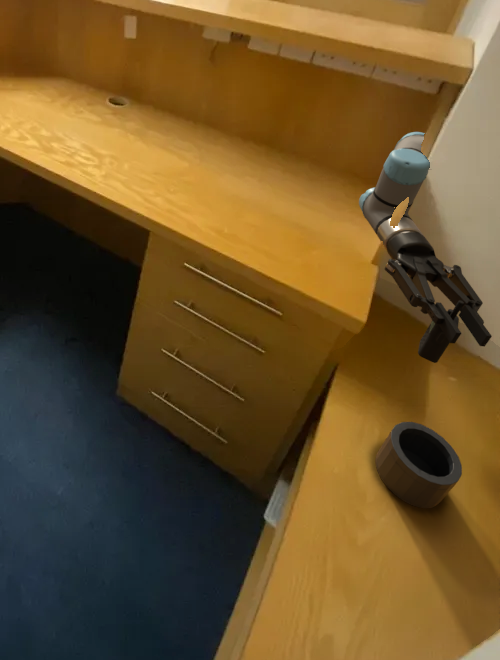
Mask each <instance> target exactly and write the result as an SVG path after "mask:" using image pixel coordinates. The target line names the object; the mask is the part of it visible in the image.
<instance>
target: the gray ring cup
mask: <svg viewBox="0 0 500 660" xmlns="http://www.w3.org/2000/svg"><path fill="white" fill-rule="evenodd" d="M375 467H376V471H377V474H378V476H379V477H380V479H381V481H382V482H383V484H384V485H385V487H387V489H389V491H390V492H392V494H393V495H395V496H396V497H397V498H399V499H400V500H401V501H403V502H405V503H407V504H408V505H410V506H413V507H416V508H420V509H432V508H434V507H436V506H438V505H439V504H440V503H442V501H443V500H444V498H446V497H447V495H448V494H449V493H450V492H451V491H452V489H454V487H455V486H456V484H457V483H458V482H459V481H460V479H461V477H462V475H463V467H462V462H461V459H460V457H459V456H458V453H457V452H456V451H455V449H454V448H453V447H452V445H451V444H450V443H449V442H448V441H447V440H446V438H444V437H443V436H442V435H440V434H439V433H438V432H436V431H434V430H433V429H432V428H430V427H428V426H426V425H424V424H421V423H418V422H413V421H402V422H399V423H397V424H395V425H394V427H393V428H392V429H391V431H390V432H389V434H388V435H387V436H386V438H385V440H384V442H383V443H382V444H381V446H380V448H379V449H378V451H377V452H376V455H375Z"/></svg>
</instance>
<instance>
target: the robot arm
mask: <svg viewBox="0 0 500 660" xmlns="http://www.w3.org/2000/svg"><path fill="white" fill-rule="evenodd" d="M424 134H425V132H421V131H413V132H408V133H407V134H404V135H403V136H402V137H401V138H400V140H398V141H397V143H396V144H395V146H394V148H393V150H391V152H390V153H389V154H388V157H386V160H385V162H384V163H383V166H382V169H381V172H380V175H379V177H378V180H377V183H376V185H375V187H371V188H369V189H367V190H366V191H365V192H364V193H362V194H361V195H360V197H359V199H358V206H359V208H360V210H361V212H362V215H363V217H364V219H365V220H366V221H367V222H368V225H370V227H371V229H372V230H373V232H374V233H375V235H376V236H377V238H378V239H379V241H380V242H381V241H383V244H382V246H383V245H384V246H383V247H384V249H385V250H386V252H387V254H388V256H389V257H390V258H389V259H388V261H387V262H386V264H385V266H384V271H385V272H386V273H387V274H388V275H389V276H391V278H392V279H393V280H394V282H395V283H396V285H397V286H398V288H399V289H400V291H401V293H402V294H403V296H404V297H405V299H406V300H407V301H408V303H409V305H410V306H411V307H413V308H418V307H419V308H421V309H420V312H421V313H422V314H425V315H428V316H429V317H430V319H431V320H432V321H433V322H434V323H435V324H438V325H439V326H440V328H441V329H442V331H443V333H444V334H445V336H446V337H447V339H448V340H449V342H450V343H449V344H456V343H457V341H458V339H459V338H460V337H461V335H462V332H461V329H460V328H459V326H458V327H457V326H456V324H455V323H454V321H453V320H452V318H451V317H450V315H449V314H448V312H447V311H448V310H446V308H445V307H444V305H443V303H442V302H440V301H439V302H436V299H435V297H434V295H433V292H432V290H431V287H430V285H432V286H433V287H434V288H437V289H438V290H439V291H440V292H441V293H442V294H443V295H444V296H445V297H446V298H447V299H448V301H450V303H452V304H453V305H454V307H455V306H456V304H457V303H458V301H460V300H461V301H463V302H464V305H463V306H462V308H461V309H460V311H459V312H458V318H460V319H461V321H462V323H463V324H464V325H465V327H466V328H467V330H468V331H469V332H470V334H471V335H472V337H473V338H474V340H475V341H476V343H477V344H478V346H480V347H485V346H486V345H487V344H488V342H489V341H490V340H491V339H492V336H493V335H492V334H491V333H490V331H489V330H488V329H487V327H486V326H485V325H484V324H485V320H484V319H483V318H482V317H481V315H480V314H479V312H478V311H479V310H480V308H481V307H482V305H483V301H482V299H481V298H480V297H479V295H478V294H477V292H476V291H475V289H474V288H473V287H472V285H471V283H470V282H469V281H468V280H467V278H466V277H465V275H464V274H463V271H462V267H461V266H459V265H458V264H453V265H452V266H450V265H446V264H444V262H443V261H442V260H440V259H439V258H438V257H437V256H436V253H435V252H436V251H435V249H434V246H432V245H431V243H430V241H429V240H428V239H427V238H426V236H425V235H424V233H423V232H422V231H421V230H420V228H419V227H418V226H417V224H416V223H415V222H414V220H413V219H412V218H411V216H410V215H409V211H410V210H411V208H412V206H413V204H414V201H415V199H416V197H417V196H418V194H419V192H420V189H421V187H422V185H423V183H424V181H425V180H426V179H427V176H428V174H429V170H430V169H429V168H430V162H429V160H428V159H427V157H426V156H425V155H423V153H422V152H421V147H422V146H421V144H422V142H423V140H424ZM407 197H409V203H408V207H407V209H406V211H405V214H404V215H403V217H402V218H401V220H400V222H399V223H398V226H395V228H393V226H390V221H391V217H392V214H393V212H394V210H395V209H396V207H397V206H398V205H399V204H400V203H401V202H402V201H404V200H405V199H406V198H407ZM394 207H395V208H394ZM429 283H430V284H429ZM435 302H436V303H435ZM432 321H431V322H432Z"/></svg>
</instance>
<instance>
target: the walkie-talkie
mask: <svg viewBox="0 0 500 660" xmlns="http://www.w3.org/2000/svg"><path fill="white" fill-rule="evenodd" d="M463 305H464V302H463V301H461V300H460V301H458V303H457V304H456V306H455V305H454V307H453V309H452V308H448V309H447V310H446V311H447V312H448V314H449V315H450V317H451V318H452V320H453V321H454V323H455V324H456V326H457V327H458V328H459V321H460V319H459V318H460V317H459V313H460V309H461V308H462V306H463ZM450 344H451V343H450V342H449V340H448V339H447V337H446V336H445V334H444V333H443V331H442V329H441V328H440V326H439V325H438V324H435V323H434V322H433V321H431V322H430V323H429V325H428V327H427V329H426V330H425V332H424V334H423V335H422V337H421V339H420V341H419V344H418V349H417V354H418V356H419V357H421V358H422V359H425V360H427V361H429V362H431V363H433V364H437V363H438V362H439V360H440V359H441V357H442V356H443V354H444V353H445V351H446V350H447V348H448V346H449V345H450Z"/></svg>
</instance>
